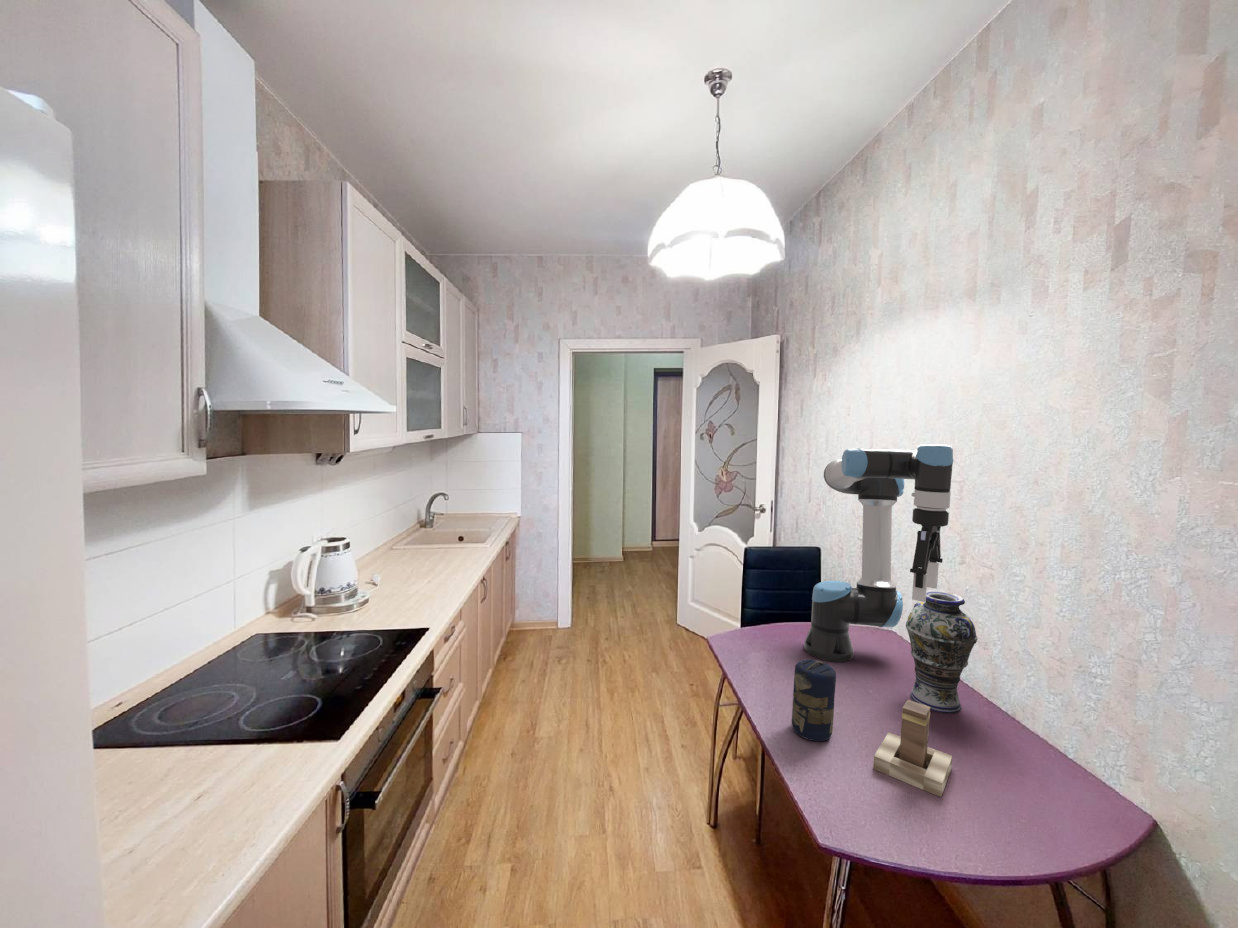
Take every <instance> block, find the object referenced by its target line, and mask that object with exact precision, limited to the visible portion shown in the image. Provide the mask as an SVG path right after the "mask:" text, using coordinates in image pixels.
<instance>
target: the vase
mask: <svg viewBox="0 0 1238 928" xmlns="http://www.w3.org/2000/svg"><path fill="white" fill-rule="evenodd" d="M965 604H966V601H965V599H964V598H963V597H962V596H960V595H958V594H956V593H953V592H952V593H951V592H948V591H943V590H937V589H935V590H926V601H925V602H922V601H917V602H916V603H915V604H914V606H913V608H912V609H911V610H910V612H909V614H908V618H907V620H906V622H905V628H906V630H907V634H908V637H909V638H908V639H909V641H910V648H911V650H910V655H911V656H912V657H913V660H914V661H913V662H914V673H915V681H914V684H913V687H912V688H911V689H912V690H911V691H910V694H909V696H910V700H911V701H913V702H917V703H920V704H923V705H926V706H929V707H930V711H931V712H935V713H939V714H940V713H941V714H959V713H960V712H961V711H962V705H961V700H960V697H959V693H958V692H959V691H958V686H959V683H960V681H961V676H962V672H963V670H964V669H965V668H966V667H967V666H968V665H969V662H968V661H969V658H970V656H971V653H972V651H973V648H974V646H975V645H976V644H977V642H978V636H977V631H976V627H975V624H974V623H973V621H972V619H971V618H970V617H969V616H968V615H967V614H966V613H965V612H963V610H961V609H960V606H963V605H965Z"/></svg>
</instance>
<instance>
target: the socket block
mask: <svg viewBox="0 0 1238 928" xmlns="http://www.w3.org/2000/svg"><path fill="white" fill-rule="evenodd" d="M900 741H901V735H897V734H894V733H891V732H887V734H886V736H885V737H884V739H883V740H882V742H881V744H880V746H879V747H878V749H877V750H876V752H875V754H874V755H873V765H872V766H873V767H872V769H873V770H874V771H876V772H877V771H878V772H880V773H882V774H884V775H887V776H888V777H889V776H890V777H892V778H893V779H896V780H899V781H901V782H904V783H906V784H908V785H910V786H913V787H915V788H918V789H920V790H922V791H925V792H928V793H930V794H931V795H932V794H933V795H935V796H937V797H940V798H942V796H943V794H944V791H945V787H946V785H947V782H948V780H949V776H950V774H951V771H952V769H953V768H952V765H953V755H951V754H948V753H945V752H943V751H940V750H937V749H934V748H932V747H929V746H928V748H927V762H926V769H924V768H921V767H919V766H916V765H914V764H911V763H909V762H906V761H904V760H901V759H899V756H900Z"/></svg>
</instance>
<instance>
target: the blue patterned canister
mask: <svg viewBox="0 0 1238 928" xmlns="http://www.w3.org/2000/svg"><path fill="white" fill-rule="evenodd" d="M793 675H794V676H793V677H794V678H793V691H792V711H791V727H792V729H793V731H794V732H795V734H798V736H800V737H802V738H804V739H805V740H809V741H814V742H823V741H827V740H829V739H830V738H832V737H831V736H832V735H833V732H834V731H833V729H834V716H835V715H834V712H835V698H836V695H835V693H836V682H837V672H836V670H835V668H833V666H831V665H830V664H828V663H826V662H824V661H821V660H817V659H808V658H807V659H800V660H799V661H797V662H796V664H795V665H794V674H793Z"/></svg>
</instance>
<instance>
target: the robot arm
mask: <svg viewBox="0 0 1238 928" xmlns="http://www.w3.org/2000/svg"><path fill="white" fill-rule="evenodd" d="M953 464H954V450H953V447H952V446H951V445H948V444H933V443H932V444H930V443H929V444H927V443H926V444H925V443H923V444H919V445H917V448H916V449H906V450H905V449H904V450H903V449H874V448H873V449H872V448H871V449H870V448H869V449H868V448H867V449H866V448H860V447H858V448H848V449H845V450H844V451H843V453H842V456H841V459H839V458H838V459H835V460H832V461H831V462H829V463H828V464H827V465H826V466H825V468H824V471H823V479H824V481H825V483H826V484H827V486H829V488H831V490H834V491H836V492H839V493H841V494H846V495H847V494H848V495H857V500H858V501H859V502H860V503H861V505H862V539H861V540H862V543H861V548H862V549H861V553H862V554H861V578H860V579H858V580H857V581H856V587H852V585H851V584H850V583H849V582H847V581H840V580H824V581H821V582H818V583H816V584H815V585H814V586H813V589H812V597H811V600H812V601H811V620H810V621H811V623H810V628H809V630H808V633H807V635H806V637H805V640H804V650H805V652H806V653H807V654H809V655H811V656H812V657H814V658H816V659H820V660H823V661H829V662H835V663H836V662H837V663H840V662H843V663H844V662H848V661H850V660H852V659H853V658H854V647H853V643H852V640H851V637H850V633H849V629H850V625H856V626H857V625H858V626H869V627H878V628H894V627H896V626H897V625H898V624H899V623H900V621H901V618H902V614H903V609H904V601H903V596H902V593H901V592H900V591H898V590H897V586H896V584H895V583H893V581H892V528H893V527H892V524H893V523H892V522H893V521H892V520H893V519H892V516H893V514H892V513H893V510H892V509H893V506H894V505H895V504H896V503H897V502H898V498H899V497H901V496H903V494H904V492H905V491H904V489H905V480H914V492H912V493H911V497H914V498H913V506H915V507H913V508H912V516H911V517H912V518H911V519H912V523H914V524H917V525H921V530H918V531H917V532H916V536H917V537H916V544H915V548H914V549H915V550H914V551H915V552H914V555H913V562H912V568H909V572H910V573H912V574H913V580H912V581H913V582H912V592H911V593H912V594H911V595H912V597H911V600H912V601H913V600H914V601H917V602H926V591H927V588H930V589H935V590H937V589H938V581H939V580H938V579H939V568H940V566H939V563H941V564H942V563H943V558H941V557H942V555H941V553H942V552H941V528H942V527H947V526H948V525H949V516H950V512H949V511H948V509H950V504H951V495H952V493H951V488H952V487H951V485H952V474H953Z"/></svg>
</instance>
